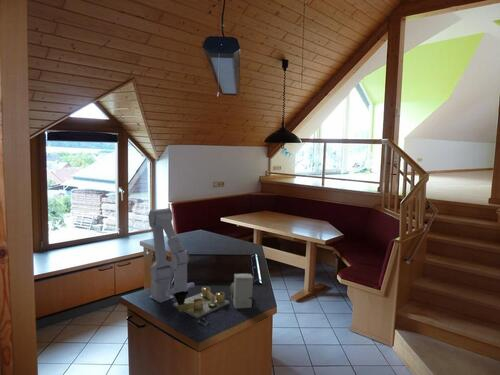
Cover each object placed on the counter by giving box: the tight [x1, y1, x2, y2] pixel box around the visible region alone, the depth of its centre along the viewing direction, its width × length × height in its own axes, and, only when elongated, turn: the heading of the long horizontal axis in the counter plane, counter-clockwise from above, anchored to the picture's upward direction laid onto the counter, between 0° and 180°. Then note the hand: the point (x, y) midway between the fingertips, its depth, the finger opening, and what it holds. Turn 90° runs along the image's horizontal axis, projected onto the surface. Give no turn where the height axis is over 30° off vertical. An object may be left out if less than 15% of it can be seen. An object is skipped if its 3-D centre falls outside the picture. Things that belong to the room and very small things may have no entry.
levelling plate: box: [172, 291, 230, 319], centre depth 168 cm, size 17×20×6 cm
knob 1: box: [177, 298, 203, 313], centre depth 160 cm, size 11×4×4 cm, turn 117°
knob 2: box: [200, 286, 215, 303], centre depth 172 cm, size 11×4×4 cm, turn 29°
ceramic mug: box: [229, 282, 234, 302], centre depth 176 cm, size 11×8×8 cm
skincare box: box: [232, 273, 254, 310], centre depth 168 cm, size 8×6×15 cm
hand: (180, 306), depth 161 cm, fingers closed
